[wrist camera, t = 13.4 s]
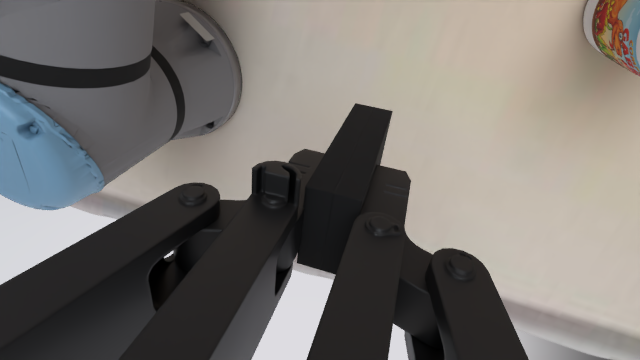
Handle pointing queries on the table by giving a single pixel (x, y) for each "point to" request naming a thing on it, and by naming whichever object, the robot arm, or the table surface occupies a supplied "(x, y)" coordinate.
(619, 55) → the milk bottle
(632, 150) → the table surface
